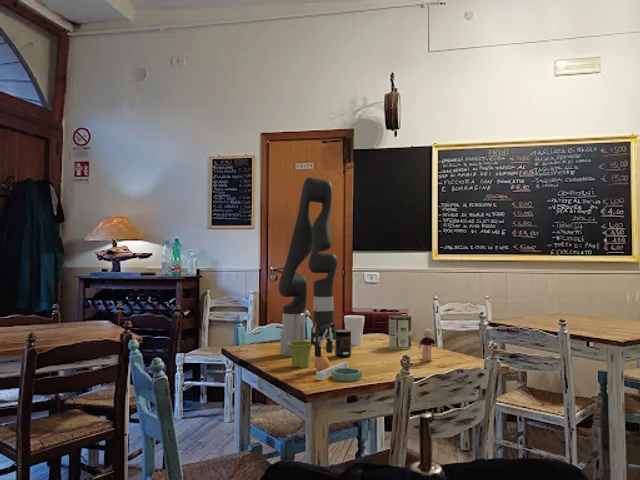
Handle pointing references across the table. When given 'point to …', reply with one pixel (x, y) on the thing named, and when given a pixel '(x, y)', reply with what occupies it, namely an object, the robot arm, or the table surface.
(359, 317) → the foam cup
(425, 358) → the grandmother figurine
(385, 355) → the table surface
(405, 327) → the coffee can
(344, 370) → the saucer
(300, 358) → the plant pot
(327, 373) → the white long bar
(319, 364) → the ball
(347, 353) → the supplement container
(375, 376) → the table surface
